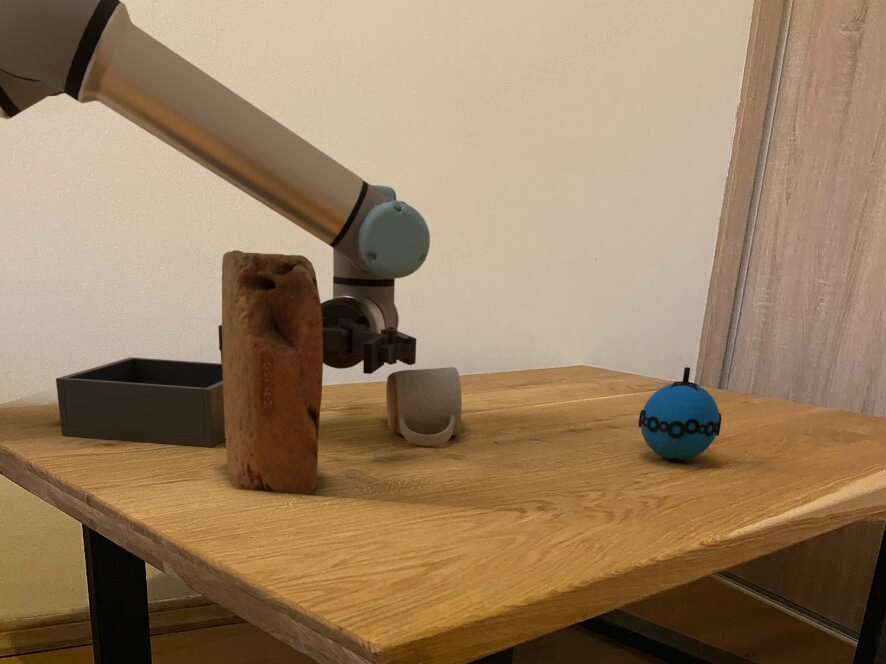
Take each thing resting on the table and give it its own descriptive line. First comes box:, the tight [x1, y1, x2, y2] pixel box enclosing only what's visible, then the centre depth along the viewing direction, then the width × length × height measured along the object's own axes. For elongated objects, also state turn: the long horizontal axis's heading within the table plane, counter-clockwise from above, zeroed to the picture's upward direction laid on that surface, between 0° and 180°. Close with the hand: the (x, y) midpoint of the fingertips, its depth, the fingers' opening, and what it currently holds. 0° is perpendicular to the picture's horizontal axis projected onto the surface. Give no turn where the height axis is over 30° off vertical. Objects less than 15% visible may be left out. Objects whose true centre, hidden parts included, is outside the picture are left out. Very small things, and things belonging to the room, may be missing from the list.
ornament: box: [638, 366, 722, 462], centre depth 100 cm, size 9×9×10 cm
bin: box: [55, 356, 226, 448], centre depth 105 cm, size 17×18×6 cm
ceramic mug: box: [385, 366, 463, 448], centre depth 105 cm, size 11×8×8 cm
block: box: [221, 249, 324, 496], centre depth 80 cm, size 11×8×20 cm
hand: (295, 354), depth 86 cm, fingers open, 13 cm apart
